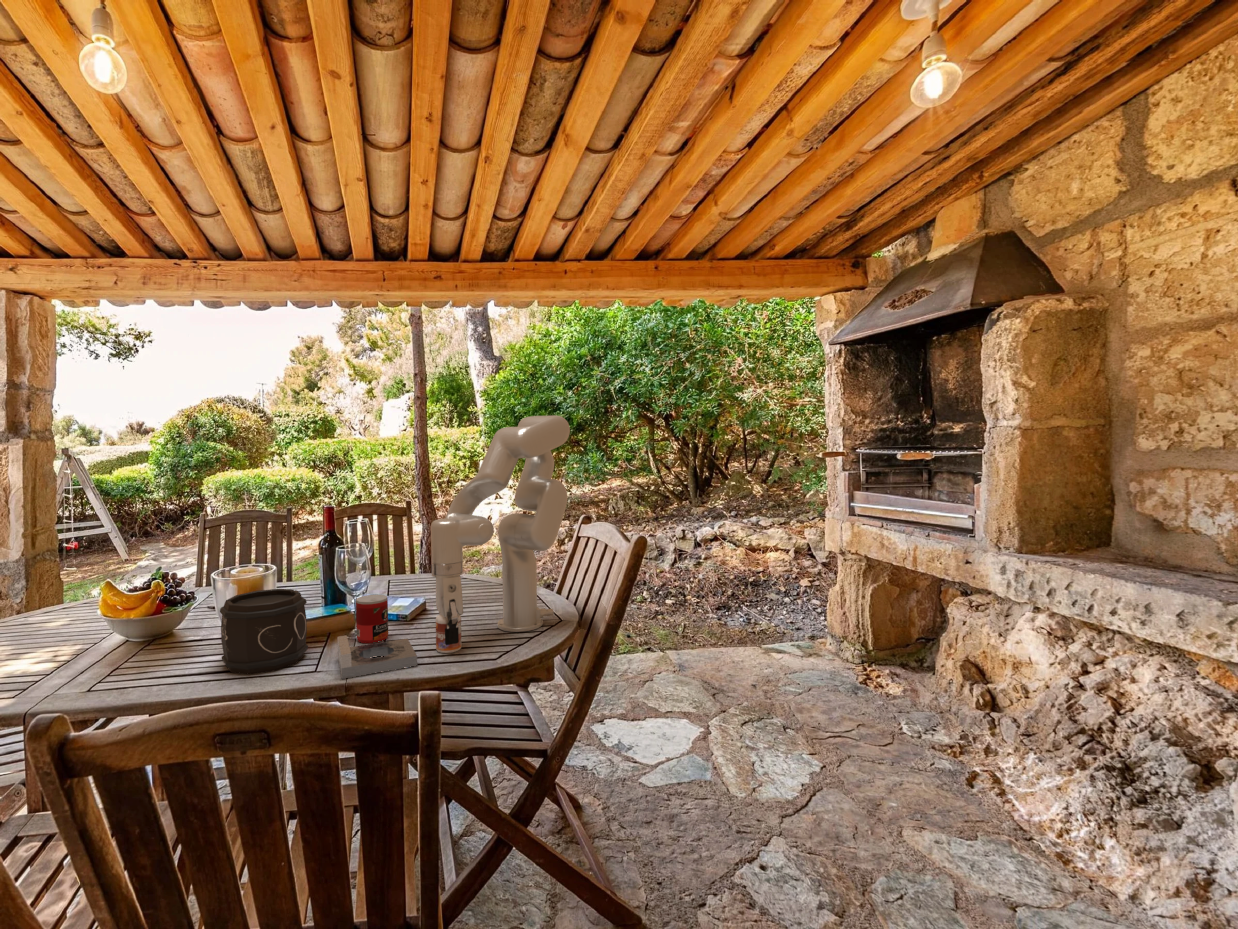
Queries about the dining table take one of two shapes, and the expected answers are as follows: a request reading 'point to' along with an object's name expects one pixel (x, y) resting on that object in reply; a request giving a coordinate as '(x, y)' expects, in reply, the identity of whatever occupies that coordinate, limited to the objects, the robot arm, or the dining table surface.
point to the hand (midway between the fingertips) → (448, 639)
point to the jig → (360, 663)
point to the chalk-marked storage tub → (263, 630)
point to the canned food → (372, 618)
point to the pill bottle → (441, 635)
